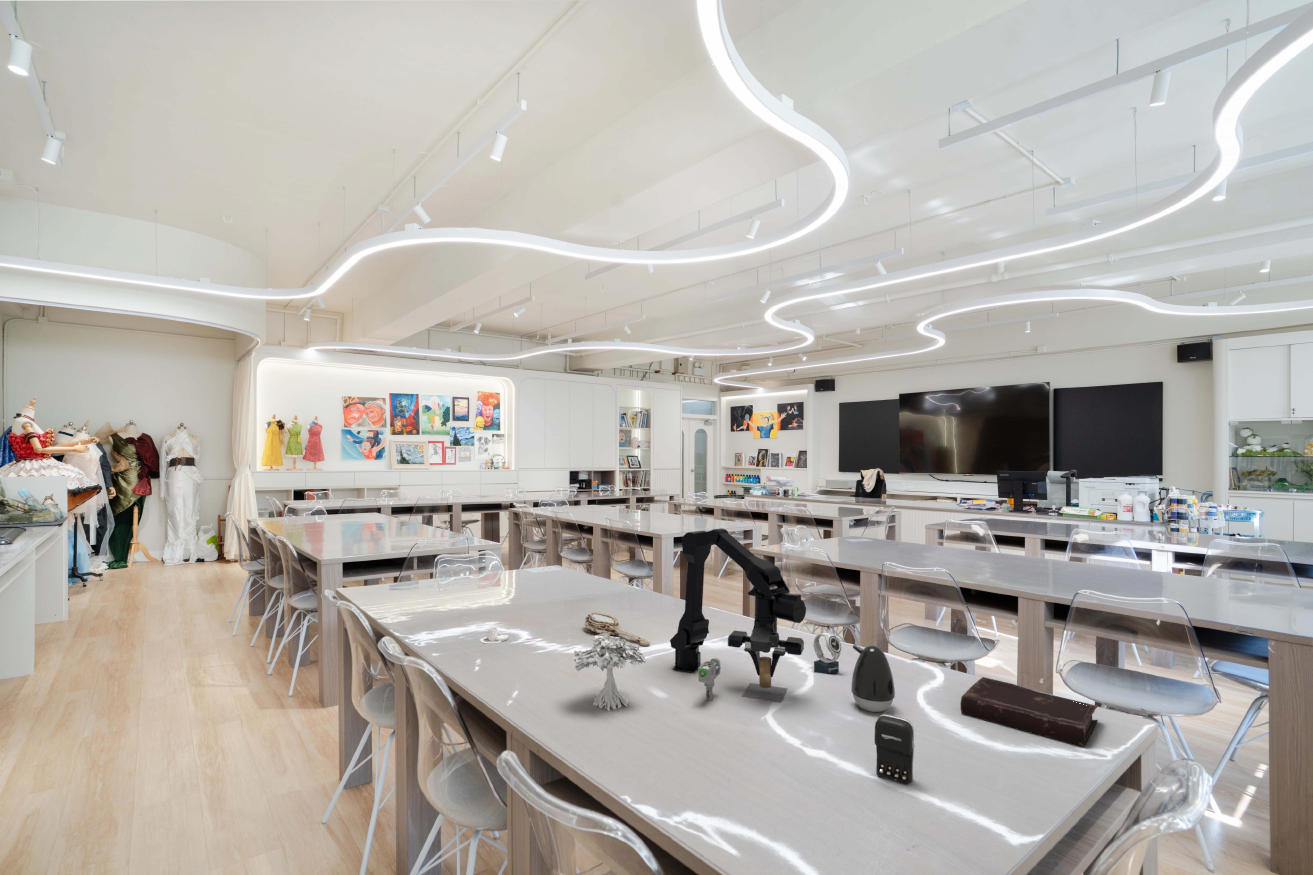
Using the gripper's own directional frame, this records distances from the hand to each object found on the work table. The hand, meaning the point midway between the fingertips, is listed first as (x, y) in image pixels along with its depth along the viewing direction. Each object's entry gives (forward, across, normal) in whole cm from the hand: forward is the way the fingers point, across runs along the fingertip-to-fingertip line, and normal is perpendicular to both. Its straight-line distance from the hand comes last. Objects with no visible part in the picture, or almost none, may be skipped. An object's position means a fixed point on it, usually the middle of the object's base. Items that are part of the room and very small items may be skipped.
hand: (765, 675), depth 161 cm
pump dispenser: (+5, +26, +3) cm, 27 cm away
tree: (+5, -35, -19) cm, 40 cm away
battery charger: (+5, +31, -31) cm, 44 cm away
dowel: (+2, 0, 0) cm, 2 cm away
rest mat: (+5, 0, 0) cm, 5 cm away
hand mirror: (+6, -56, +32) cm, 65 cm away
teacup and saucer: (+6, -90, +11) cm, 91 cm away
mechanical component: (+5, -12, -10) cm, 17 cm away
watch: (+5, +13, +24) cm, 28 cm away
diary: (+6, +61, +11) cm, 62 cm away
